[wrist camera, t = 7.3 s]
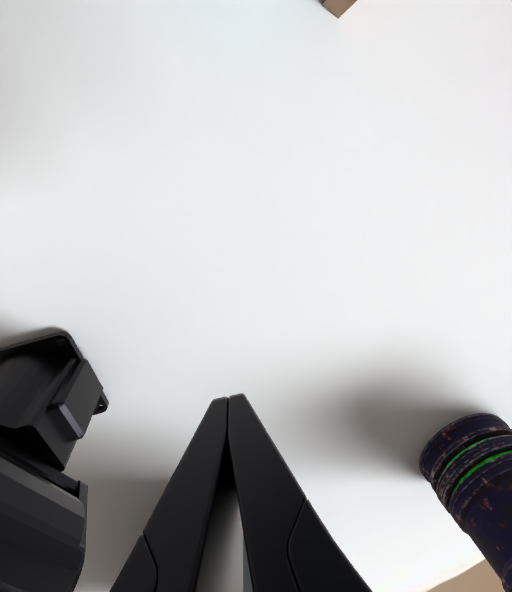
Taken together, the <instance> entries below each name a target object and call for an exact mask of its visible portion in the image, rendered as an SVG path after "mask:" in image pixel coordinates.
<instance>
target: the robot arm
mask: <svg viewBox="0 0 512 592" xmlns="http://www.w3.org/2000/svg"><path fill="white" fill-rule="evenodd" d="M59 339H64V340H65V342H61V341H60V340H59ZM102 390H103V387H102V385H101V383H100V382H99V380H98V378H97V376H96V375H95V373H94V371H93V369H92V368H91V366H90V364H89V362H88V361H87V360H86V359H84V358H83V356H82V354H81V352H80V351H79V349H78V347H77V345H76V344H75V342H74V340H73V338H72V337H71V335H70V334H68V333H66V332H58V333H55V334H51V335H47V336H44V337H40V338H36V339H32V340H29V341H25V342H21V343H18V344H14V345H10V346H7V347H3V348H0V592H73V591H74V589H75V586H76V584H77V581H78V579H79V576H80V574H81V570H82V567H83V563H84V557H85V547H86V519H87V492H88V486H87V485H86V484H84V483H83V482H81V481H75V480H73V479H72V478H70V477H68V476H67V475H65V474H64V473H62V471H64V469H65V467H66V464H67V462H68V460H69V457H70V455H71V453H72V450H73V448H74V446H75V443H76V441H77V440H78V439H81V438H83V436H84V434H85V432H86V430H87V427H88V425H89V422H90V420H91V417H92V415H96V414H99V413H102V412H105V411H106V410H107V407H108V404H109V402H108V400H107V398H106V396H105V395H104V393H103V391H102ZM98 404H101V405H103V406H99V405H98ZM143 534H144V535H141V536H140V537H139V539H138V541H137V543H136V545H135V547H134V549H133V551H132V552H131V554H130V556H129V558H128V560H127V562H126V563H125V565H124V567H123V569H122V571H121V572H120V574H119V576H118V578H117V580H116V581H115V583H114V585H113V587H112V588H111V590H110V592H243V535H244V541H245V547H246V553H247V559H248V565H249V571H250V577H251V584H252V590H253V592H372V590H371V589H370V588H369V586H368V585H367V584H366V583H365V581H364V580H363V579H362V577H361V576H360V575H359V574H358V572H357V571H356V570H355V568H354V567H353V566H352V564H351V563H350V562H349V560H348V559H347V558H346V556H345V555H344V553H343V552H342V551H341V549H340V548H339V547H338V545H337V544H336V542H335V541H334V540H333V538H332V537H331V535H330V533H329V532H328V530H327V529H326V527H325V526H324V524H323V523H322V521H321V520H320V518H319V516H318V515H317V513H316V512H315V510H314V508H313V507H312V505H311V503H310V502H309V500H307V498H306V495H305V494H304V492H303V490H302V489H301V487H300V486H299V484H298V482H297V481H296V479H295V477H294V476H293V474H292V472H291V471H290V469H289V467H288V466H287V464H286V462H285V461H284V459H283V457H282V456H281V454H280V452H279V451H278V449H277V447H276V446H275V444H274V443H273V441H272V439H271V438H270V436H269V434H268V433H267V431H266V429H265V428H264V426H263V424H262V423H261V421H260V419H259V418H258V416H257V414H256V413H255V411H254V409H253V408H252V406H251V405H250V403H249V401H248V400H247V398H246V396H245V395H244V394H243V393H241V394H236V395H231V396H230V397H229V398H228V397H222V398H217V399H214V400H213V401H212V402H211V404H210V406H209V408H208V409H207V411H206V413H205V415H204V417H203V419H202V421H201V423H200V425H199V426H198V428H197V430H196V432H195V434H194V436H193V438H192V440H191V442H190V443H189V445H188V447H187V449H186V451H185V453H184V455H183V457H182V459H181V460H180V462H179V464H178V466H177V468H176V470H175V472H174V474H173V476H172V477H171V479H170V481H169V483H168V485H167V487H166V489H165V491H164V492H163V494H162V496H161V498H160V500H159V502H158V504H157V506H156V508H155V509H154V511H153V513H152V515H151V517H150V519H149V521H148V523H147V525H146V526H145V528H144V530H143Z"/></svg>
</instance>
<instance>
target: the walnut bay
mask: <svg viewBox="0 0 512 592" xmlns="http://www.w3.org/2000/svg"><path fill="white" fill-rule="evenodd" d="M356 1H357V0H324V2H323V4H322V5H323V6H324V7H325V8H326V9H328V10H329V11H330V12H331V13H333V14H334V15H335V16H336V17H338V18H339V17H340V16H341V15H342V14H343V13H344V12H345V11H346V10H348V9H349V8H350V7H351V6H352V5H353V4H354V3H355V2H356Z"/></svg>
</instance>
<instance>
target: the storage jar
mask: <svg viewBox="0 0 512 592" xmlns="http://www.w3.org/2000/svg"><path fill="white" fill-rule="evenodd" d="M419 466H420V471H421V473H422V474H423V476H424V477H425V478H426V480H427V481H428V482H430V483H431V486H432V488H433V490H434V491H435V493H436V494H437V497H438V499H439V500H440V502H441V503H442V505H443V506H444V507H445V509H446V510H447V511H448V513H450V514H451V516H452V517H453V518H454V520H455V522H456V523H457V524H458V525H459V527H460V528H461V529H462V531H463V532H465V533H466V534H468V535H469V536H470V537H471V539H472V540H473V541H474V543H475V544H476V546H477V547H478V548H479V550H480V551H481V552H482V554H483V555H484V557H485V558H486V559H487V561H488V562H489V564H490V565H491V566H492V568H493V569H494V570H495V572H496V573H497V575H498V576H499V578H500V579H501V580H502V585H503V589H504V590H505V591H506V592H512V429H510V428H509V426H508V425H507V424H506V423H505V422H504V421H503V420H502V419H501V418H499V417H497V416H495V415H492V414H474V415H470V416H466V417H464V418H461V419H459V420H456V421H455V422H453V423H451V424H449V425H448V426H446V427H444V428H443V429H442V430H441V431H439V432H438V433H437V434H436V435H435V436H434V437H433V438H432V439H431V440H430V441H429V442H428V444H427V445H426V447H425V448H424V450H423V452H422V454H421V457H420V462H419Z"/></svg>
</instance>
